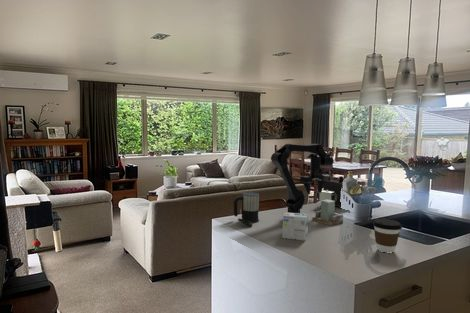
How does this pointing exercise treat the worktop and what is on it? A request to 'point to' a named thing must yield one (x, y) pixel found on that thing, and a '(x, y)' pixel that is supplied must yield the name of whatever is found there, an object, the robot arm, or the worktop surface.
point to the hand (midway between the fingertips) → (314, 193)
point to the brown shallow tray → (334, 220)
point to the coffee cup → (386, 234)
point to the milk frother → (248, 207)
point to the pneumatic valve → (327, 195)
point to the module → (327, 209)
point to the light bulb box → (295, 226)
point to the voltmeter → (334, 188)
